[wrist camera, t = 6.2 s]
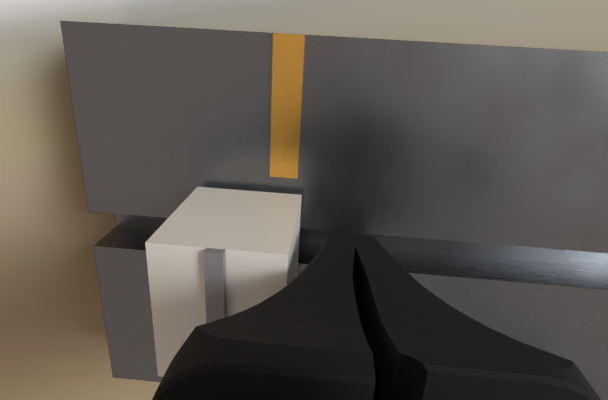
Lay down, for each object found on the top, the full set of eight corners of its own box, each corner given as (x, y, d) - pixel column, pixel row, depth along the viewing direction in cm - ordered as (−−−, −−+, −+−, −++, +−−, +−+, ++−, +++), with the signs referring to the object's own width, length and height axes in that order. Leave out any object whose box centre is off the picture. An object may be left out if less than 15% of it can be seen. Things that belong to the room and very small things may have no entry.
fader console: (600, 367, 17) (654, 434, 14) (147, 324, 18) (111, 379, 15) (724, 59, 13) (837, 65, 10) (116, 24, 14) (58, 20, 11)
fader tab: (299, 276, 15) (280, 395, 10) (214, 268, 15) (154, 382, 10) (305, 178, 13) (287, 259, 8) (212, 171, 13) (140, 247, 9)
